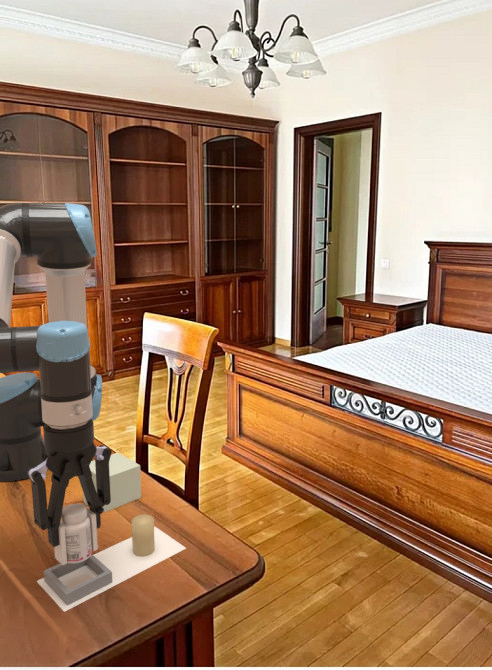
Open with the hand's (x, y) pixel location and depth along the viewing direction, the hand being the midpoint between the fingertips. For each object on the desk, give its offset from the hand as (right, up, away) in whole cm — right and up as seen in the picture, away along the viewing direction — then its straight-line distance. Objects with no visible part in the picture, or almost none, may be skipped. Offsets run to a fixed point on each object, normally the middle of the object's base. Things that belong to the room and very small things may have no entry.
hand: (76, 553), depth 90 cm
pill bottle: (0, -1, 0) cm, 1 cm away
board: (+5, -6, +6) cm, 10 cm away
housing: (-1, -1, +29) cm, 29 cm away
